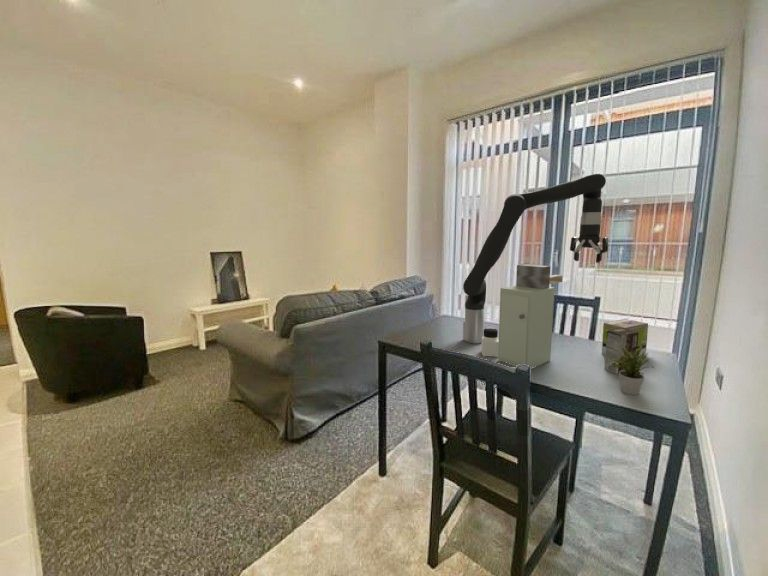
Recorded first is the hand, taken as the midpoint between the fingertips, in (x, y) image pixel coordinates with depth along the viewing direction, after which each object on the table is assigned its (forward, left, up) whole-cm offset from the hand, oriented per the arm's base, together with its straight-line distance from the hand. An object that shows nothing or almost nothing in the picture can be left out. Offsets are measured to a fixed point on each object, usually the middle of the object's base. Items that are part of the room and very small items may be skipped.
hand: (587, 261), depth 149 cm
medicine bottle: (-25, -31, -42) cm, 58 cm away
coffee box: (+18, -6, -42) cm, 46 cm away
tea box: (+12, +14, -42) cm, 46 cm away
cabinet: (-11, -26, -42) cm, 51 cm away
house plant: (+27, -22, -42) cm, 55 cm away
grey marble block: (-11, -13, -10) cm, 20 cm away
